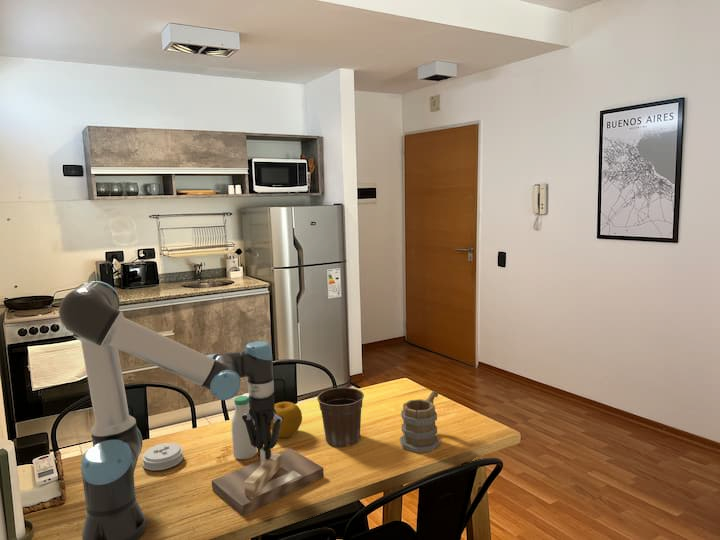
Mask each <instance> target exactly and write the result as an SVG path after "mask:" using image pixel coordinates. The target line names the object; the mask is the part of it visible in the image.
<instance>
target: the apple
mask: <svg viewBox="0 0 720 540" xmlns="http://www.w3.org/2000/svg"><path fill="white" fill-rule="evenodd" d="M274 409H275V411H276V414H277V415H278V416H279V417H281V416H282V417H283V421H282V422H281V424H280V429H279V434H278V437H280V438H283V439H284V438H286V439H288V438H292V437H293V436H295V435H296V434H297V433H298V430H299V428H300V426H301V425H302V420H303V414H302V411H301V409H300V407H299V405H297V404H296V403H294V402H291V401H281V402H280V401H279V402H276V403H275V405H274ZM273 426H274V418H273V419H272V421H271V431H272V430H273Z"/></svg>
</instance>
